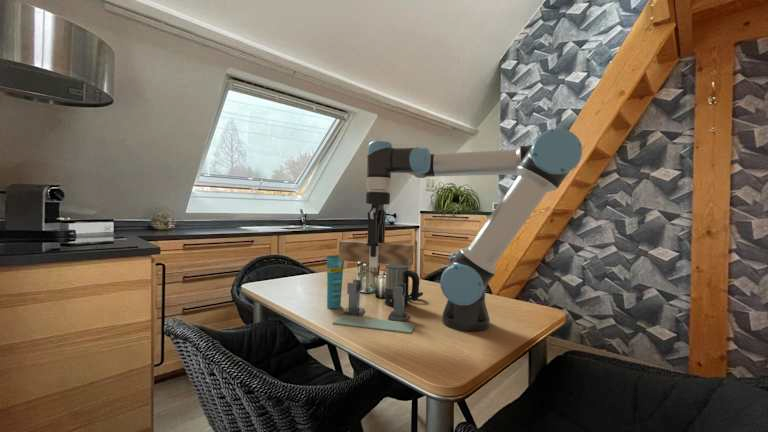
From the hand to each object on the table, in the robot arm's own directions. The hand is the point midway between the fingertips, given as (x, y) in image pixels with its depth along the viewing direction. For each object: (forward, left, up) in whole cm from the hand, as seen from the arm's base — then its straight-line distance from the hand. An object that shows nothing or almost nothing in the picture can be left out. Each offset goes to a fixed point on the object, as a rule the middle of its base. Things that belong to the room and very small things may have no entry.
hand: (375, 265), depth 107 cm
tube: (+19, -13, -19) cm, 30 cm away
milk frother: (-4, -28, -19) cm, 34 cm away
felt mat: (0, 0, -19) cm, 19 cm away
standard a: (-6, -9, -19) cm, 22 cm away
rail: (0, 0, +1) cm, 1 cm away
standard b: (+10, -9, -19) cm, 23 cm away
